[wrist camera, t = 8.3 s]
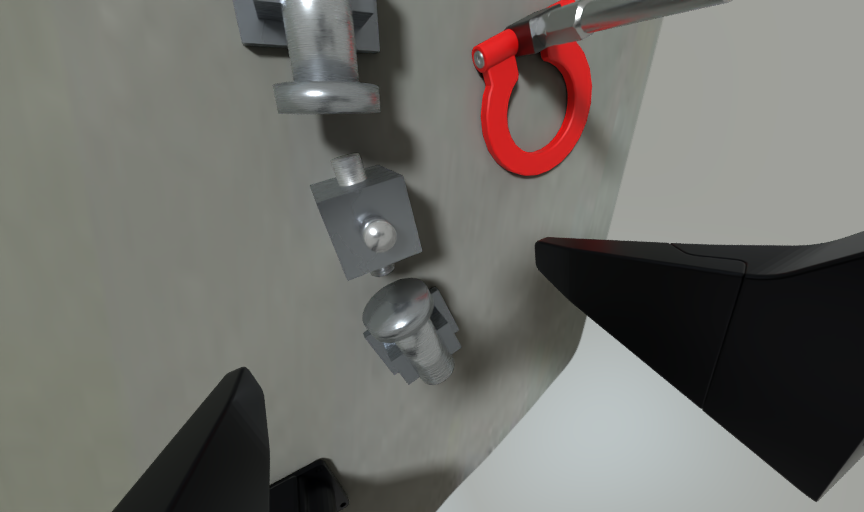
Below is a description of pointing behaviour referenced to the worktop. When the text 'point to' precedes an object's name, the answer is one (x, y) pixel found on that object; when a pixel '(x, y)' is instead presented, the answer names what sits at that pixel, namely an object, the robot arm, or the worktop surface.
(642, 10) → the tow hook
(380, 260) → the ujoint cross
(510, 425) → the worktop surface
